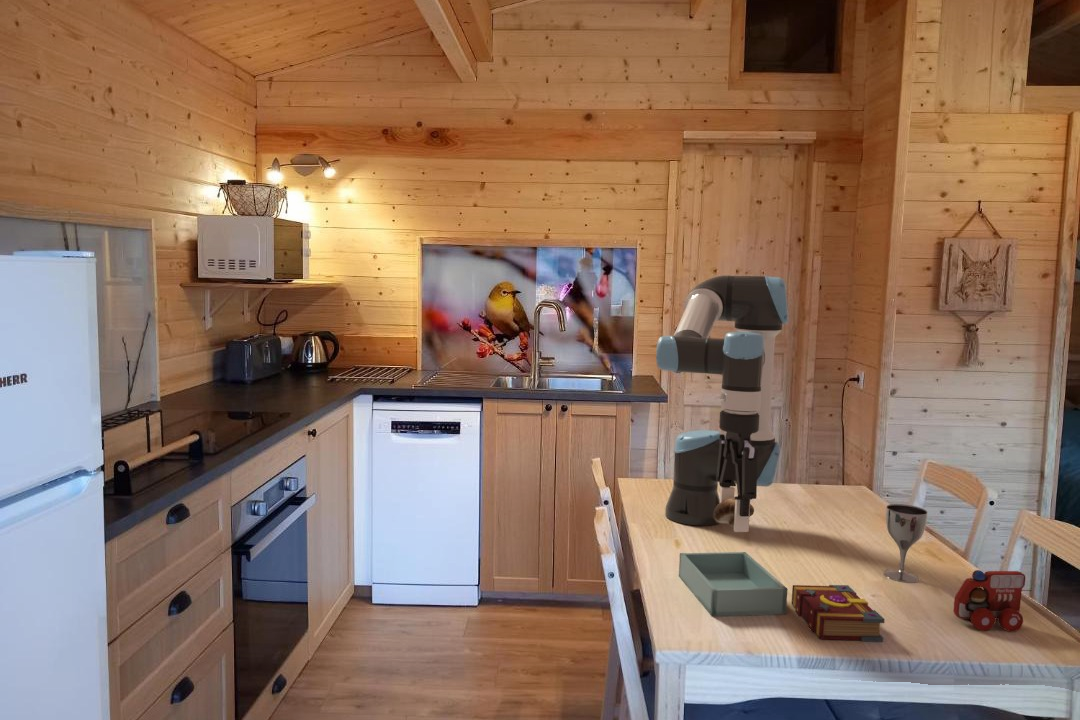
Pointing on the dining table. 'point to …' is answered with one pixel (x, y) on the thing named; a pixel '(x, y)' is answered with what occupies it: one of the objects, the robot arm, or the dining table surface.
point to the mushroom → (727, 511)
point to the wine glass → (904, 535)
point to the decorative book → (836, 612)
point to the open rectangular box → (732, 584)
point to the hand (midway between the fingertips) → (733, 524)
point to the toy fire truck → (991, 599)
